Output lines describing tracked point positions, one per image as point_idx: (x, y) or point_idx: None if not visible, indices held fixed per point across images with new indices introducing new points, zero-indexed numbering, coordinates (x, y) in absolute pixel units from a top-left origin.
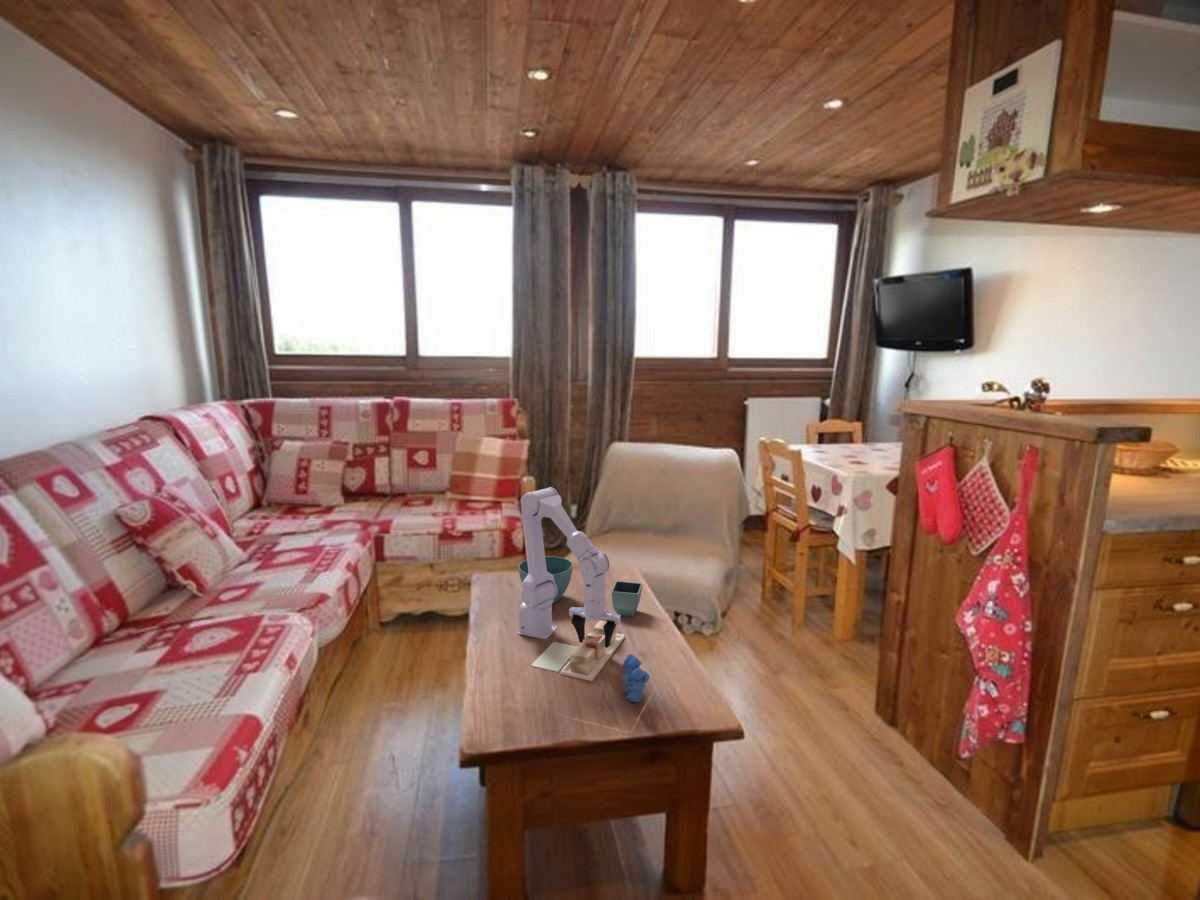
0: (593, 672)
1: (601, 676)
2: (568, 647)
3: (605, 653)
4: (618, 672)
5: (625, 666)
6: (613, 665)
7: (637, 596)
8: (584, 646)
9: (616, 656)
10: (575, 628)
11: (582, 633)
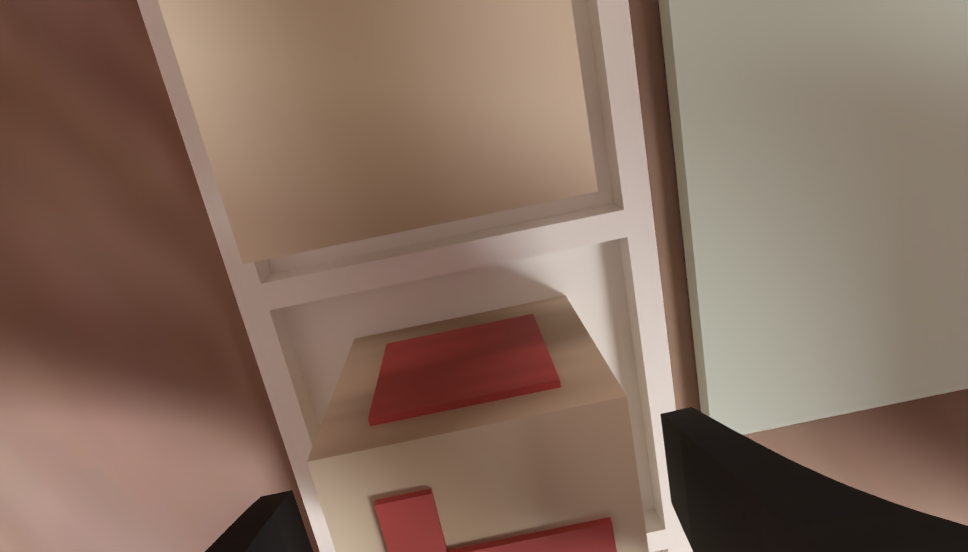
0: None
1: (130, 75)
2: (814, 367)
3: None
4: (35, 267)
5: None
6: (183, 358)
7: None
8: (568, 355)
9: None
10: (909, 512)
11: (725, 538)
